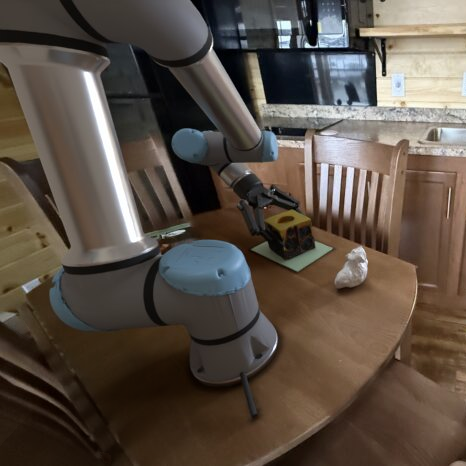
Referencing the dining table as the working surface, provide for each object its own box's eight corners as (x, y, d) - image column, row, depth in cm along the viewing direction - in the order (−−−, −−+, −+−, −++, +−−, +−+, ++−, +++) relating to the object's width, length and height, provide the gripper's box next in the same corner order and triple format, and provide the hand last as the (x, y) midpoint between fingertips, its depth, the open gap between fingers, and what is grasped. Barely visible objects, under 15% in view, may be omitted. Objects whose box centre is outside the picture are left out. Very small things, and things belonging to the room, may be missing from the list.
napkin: (333, 248, 95) (333, 248, 95) (297, 272, 85) (297, 271, 84) (288, 231, 104) (288, 230, 104) (250, 250, 94) (250, 249, 94)
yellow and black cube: (316, 248, 95) (312, 218, 90) (286, 262, 88) (279, 231, 83) (298, 236, 100) (293, 208, 96) (268, 248, 94) (261, 219, 89)
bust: (341, 302, 78) (363, 281, 71) (320, 280, 78) (340, 257, 71) (367, 276, 87) (389, 255, 80) (348, 256, 87) (368, 234, 80)
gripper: (266, 175, 100) (313, 224, 103) (201, 205, 80) (262, 265, 83) (277, 160, 96) (325, 212, 99) (211, 188, 76) (274, 252, 79)
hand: (296, 237), depth 91 cm, fingers closed on yellow and black cube, 12 cm apart
